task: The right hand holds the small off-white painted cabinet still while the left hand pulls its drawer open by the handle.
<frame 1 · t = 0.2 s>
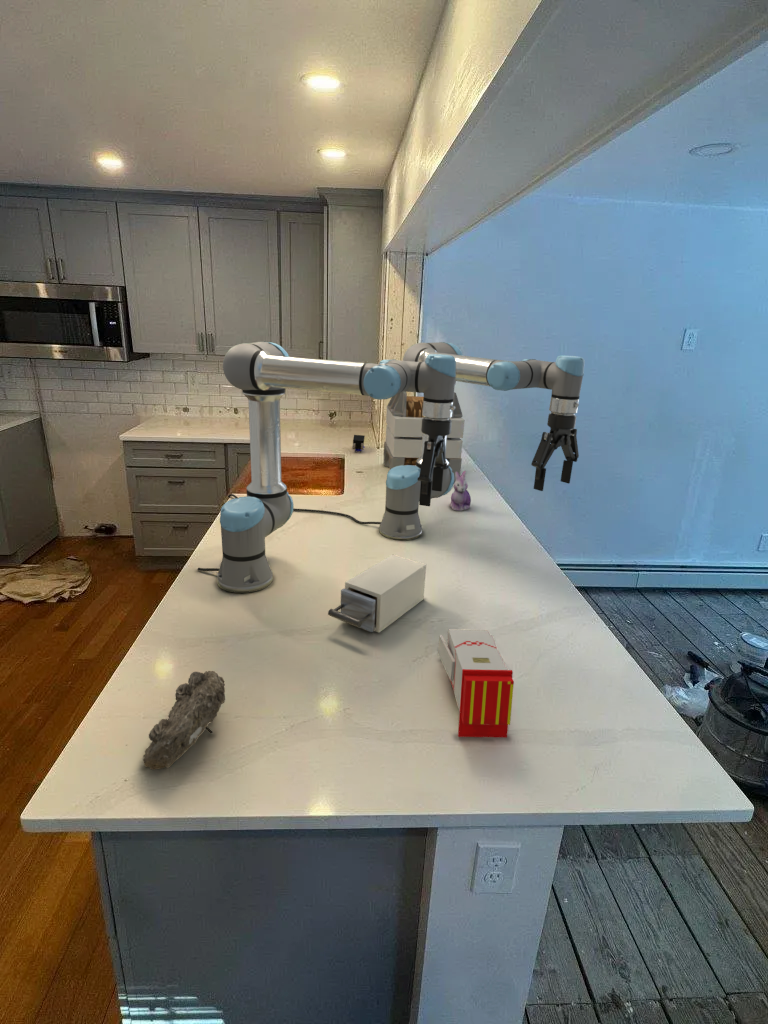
left hand: (430, 497, 150), 28 cm above the counter, tool pointing down, fingers open, 13 cm apart
right hand: (551, 486, 166), 28 cm above the counter, tool pointing down, fingers open, 13 cm apart
drawer: (373, 599, 144), point 5 cm above the counter, slide at 1.2 cm
cabinet: (385, 608, 150), on the counter
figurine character: (358, 450, 313), on the counter
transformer: (419, 473, 275), on the counter
white and red box: (469, 691, 119), on the counter
fossil: (192, 731, 104), on the counter
figurine: (460, 507, 229), on the counter
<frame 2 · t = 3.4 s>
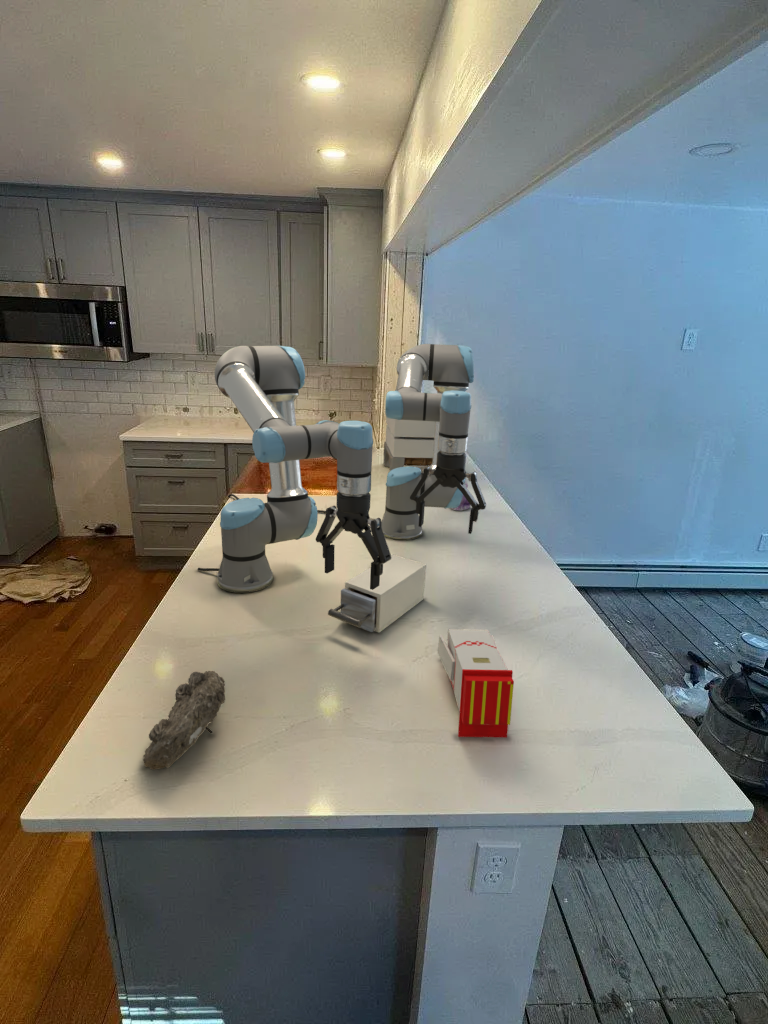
left hand: (351, 579, 133), 15 cm above the counter, tool pointing down, fingers open, 12 cm apart
right hand: (445, 528, 154), 19 cm above the counter, tool pointing down, fingers open, 13 cm apart
nothing on the counter moved.
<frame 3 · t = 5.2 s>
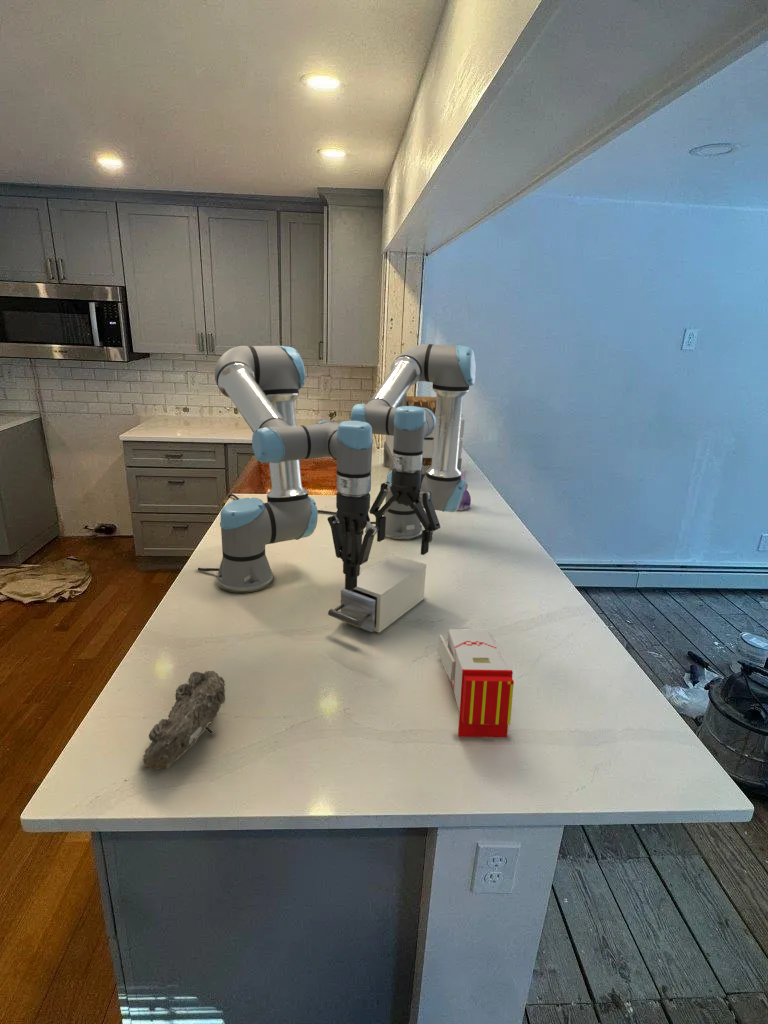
left hand: (350, 587, 133), 13 cm above the counter, tool pointing down, fingers closed
right hand: (402, 546, 150), 16 cm above the counter, tool pointing down, fingers open, 13 cm apart
nothing on the counter moved.
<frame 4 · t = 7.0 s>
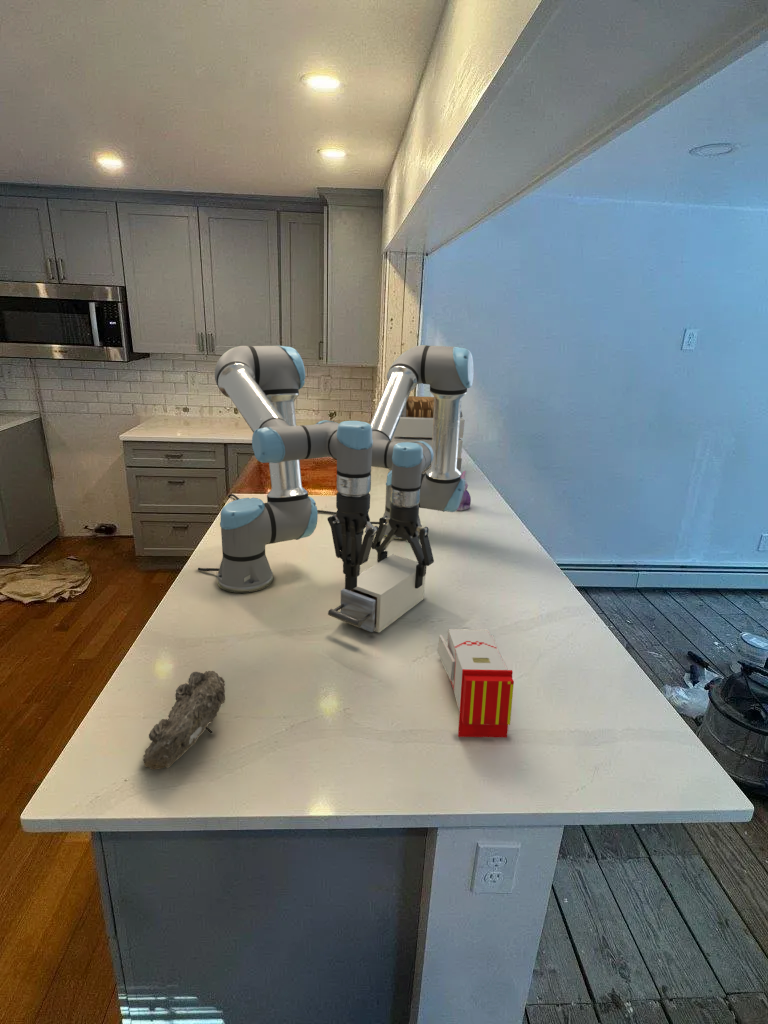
left hand: (350, 587, 133), 13 cm above the counter, tool pointing down, fingers closed
right hand: (400, 580, 153), 6 cm above the counter, tool pointing down, fingers closed on cabinet, 11 cm apart
cabinet: (385, 608, 150), on the counter, touching right hand
everything else where it was.
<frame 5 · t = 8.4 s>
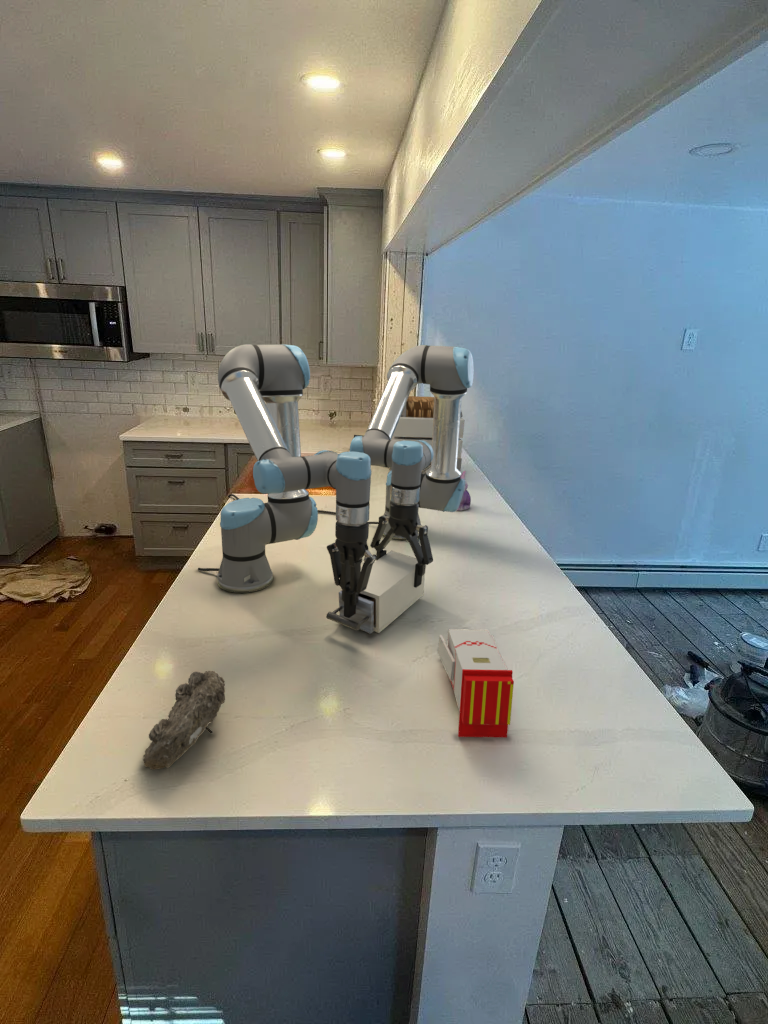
left hand: (349, 614, 135), 6 cm above the counter, tool pointing down, fingers closed
right hand: (399, 579, 153), 6 cm above the counter, tool pointing down, fingers closed on cabinet, 11 cm apart
drawer: (372, 599, 143), point 5 cm above the counter, slide at 1.4 cm, touching left hand
cabinet: (385, 606, 150), point 1 cm above the counter, touching right hand
everything else where it was.
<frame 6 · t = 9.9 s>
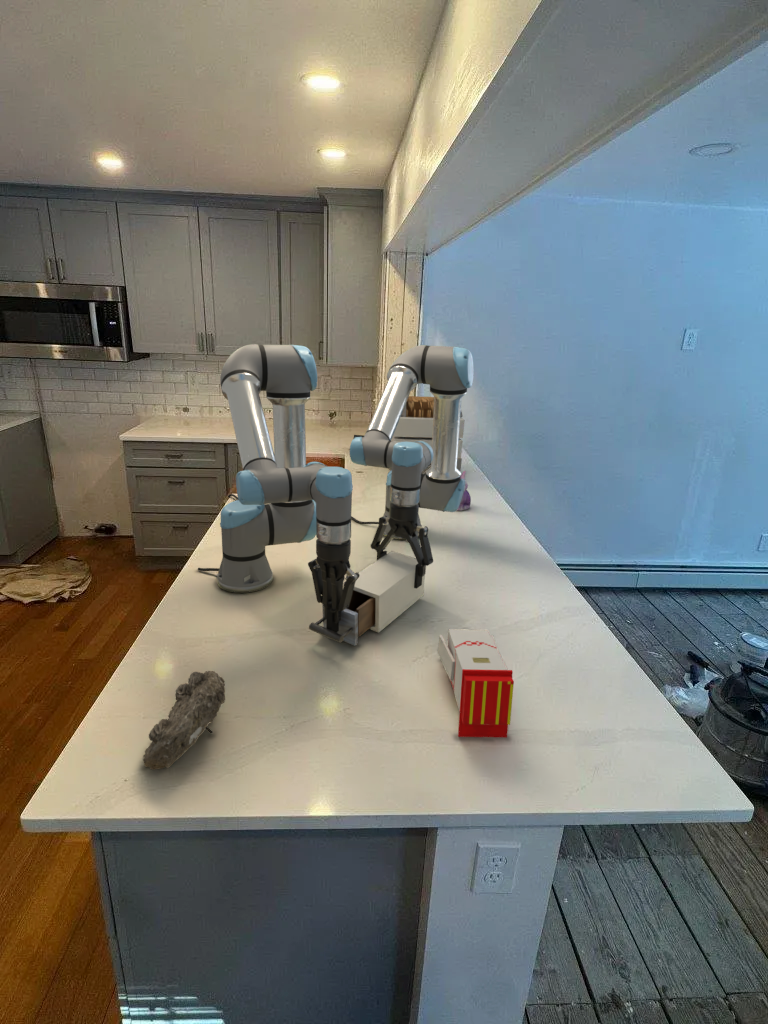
left hand: (332, 632, 131), 4 cm above the counter, tool pointing down, fingers closed
right hand: (399, 580, 153), 6 cm above the counter, tool pointing down, fingers closed on cabinet, 11 cm apart
drawer: (357, 609, 138), point 5 cm above the counter, slide at 7.6 cm, touching left hand
cabinet: (385, 606, 150), point 1 cm above the counter, touching right hand
everything else where it was.
when the right hand's fingers open (6 cm above the counter, at t = 11.9 s): cabinet stays where it is, on the counter.
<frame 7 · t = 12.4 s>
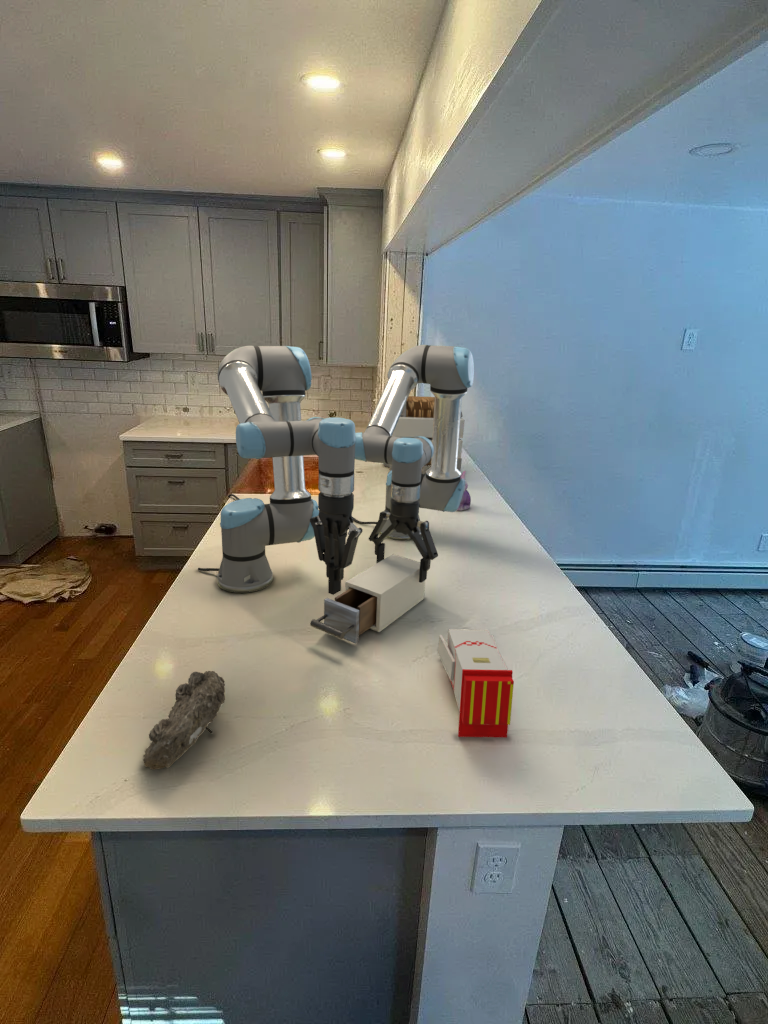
left hand: (334, 591, 128), 14 cm above the counter, tool pointing down, fingers closed
right hand: (400, 573, 153), 8 cm above the counter, tool pointing down, fingers open, 13 cm apart
drawer: (358, 608, 139), point 5 cm above the counter, slide at 7.7 cm
cabinet: (385, 608, 150), on the counter
everything else where it was.
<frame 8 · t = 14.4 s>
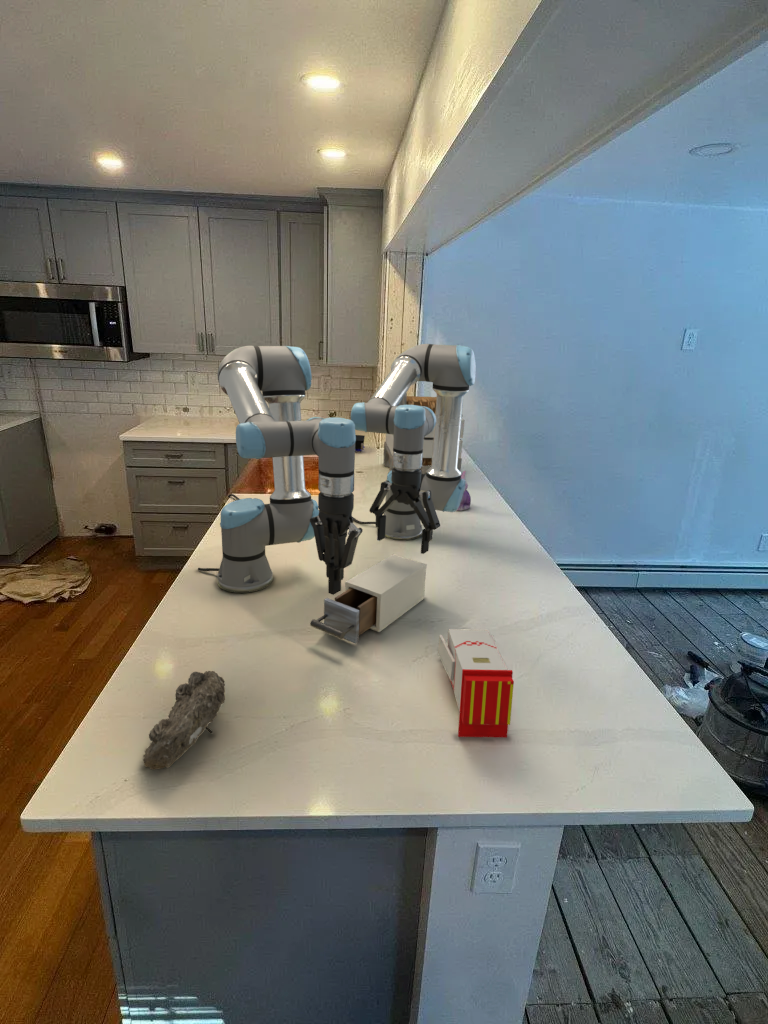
left hand: (334, 591, 128), 14 cm above the counter, tool pointing down, fingers closed
right hand: (402, 545, 150), 16 cm above the counter, tool pointing down, fingers open, 13 cm apart
nothing on the counter moved.
at the end: drawer slide at 7.7 cm; cabinet tilted 0°; cabinet never tilted more than 5° during the clip; cabinet moved 0.2 cm from its start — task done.
